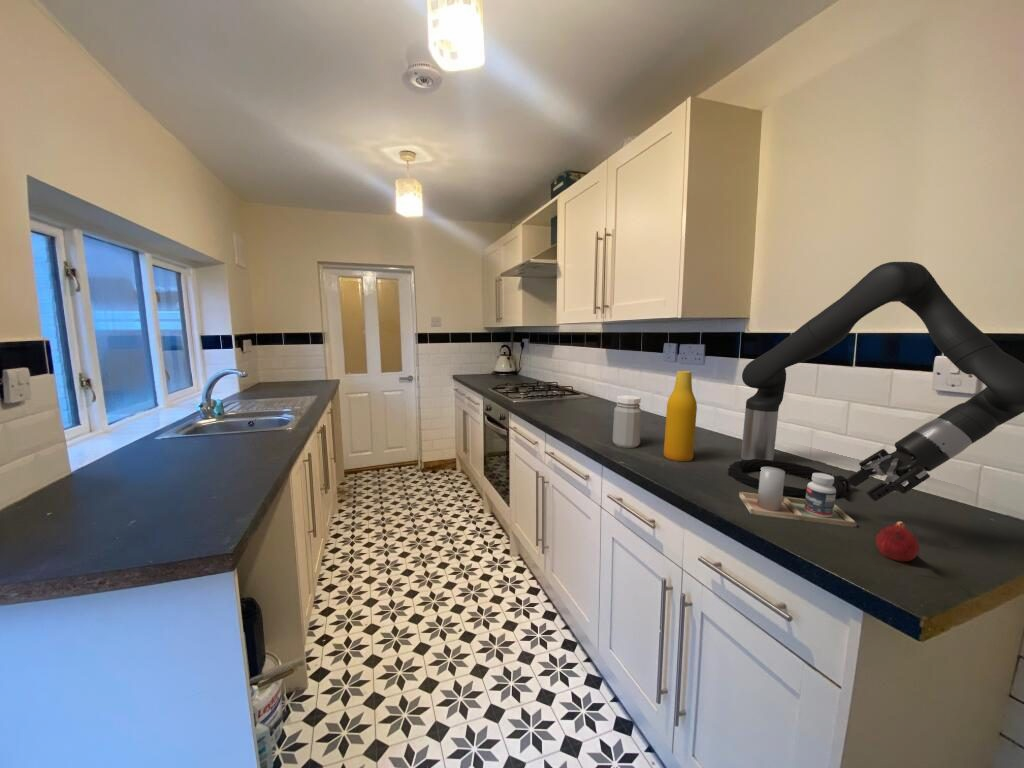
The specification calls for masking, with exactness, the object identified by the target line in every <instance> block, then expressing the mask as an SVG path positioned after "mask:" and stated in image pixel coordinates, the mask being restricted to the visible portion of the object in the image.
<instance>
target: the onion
mask: <svg viewBox="0 0 1024 768" xmlns="http://www.w3.org/2000/svg"><path fill="white" fill-rule="evenodd" d="M906 525H907V524H905V522H904V521H897V522H895V524H893V525H888V526H885V527H883V528H882V529H881V530H879V531H878V533H877V534H876V537H875V545H876V546H877V548H878V551H879V552H880V553H881V555H883V556H884V557H886V558H888V559H891V560H893V561H897V562H900V563H902V562H903V563H905V562H910V561H912V560H914V559H915V558H916V557H917V556H918V554H919V553H920V544H919V541H918V539H917V538H916V537H915V535H914V534H913V533H912V531H910V530H909V529H907V528H906Z"/></svg>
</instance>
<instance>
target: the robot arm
mask: <svg viewBox="0 0 1024 768" xmlns="http://www.w3.org/2000/svg"><path fill="white" fill-rule="evenodd" d="M891 302H892V303H897V302H898V303H901V304H903V305H904V306H906V307H907V308H909V309H910V310H912V312H913V313H915V314H916V316H918V317H919V318H920V320H921V321H922V322H923V324H924V325H925V328H926V329H927V331H928V333H929V336H930V338H931V340H932V342H933V344H934V345H935V346H936V348H938V350H940V353H942V354H943V355H944V356H945V357H946V358H947V359H948V360H949V361H950V362H951V363H952V364H953V365H954V366H955V367H956V368H957V369H958V370H959V371H960V372H962V373H963V374H966V375H973V376H974V377H976V379H977V380H978V381H980V382H981V383H982V384H983V385H985V386H986V387H985V388H983V389H982V390H981V391H979V392H978V393H976V394H975V395H973V396H972V397H971V398H968V399H967V400H966V401H965V402H962V403H959V404H957V405H955V406H953V407H950V409H948V410H947V411H945V412H944V413H942V414H940V415H939V416H937V417H935V418H934V419H932V420H930V421H927V422H926V423H924V424H922V425H921V426H919V427H917V428H916V429H915V430H913V431H911V432H910V433H908V434H907V435H905V436H904V437H902V438H900V439H899V440H898V441H896V442H895V443H894V448H896V450H894V451H893V452H891V453H889V452H888V451H887V450H886V449H884V448H882V449H880V450H878V451H877V452H875V453H873V454H871V455H870V456H868V457H867V458H865V459H864V460H862V461H860V462H858V466H860V468H859V470H857V471H856V472H855V473H853V474H852V475H850V476H847V477H848V478H847V481H848V482H849V483H850V484H851V485H852V487H854V488H855V487H857V486H859V485H862V483H864V482H866V481H867V480H869V479H870V477H871V478H872V477H875V476H886V478H885V480H884V481H883V482H880V483H879V484H877V485H874V486H873V487H872V488H871V489H868V491H866V495H867V496H868V497H869V498H870V500H872V501H873V502H877V501H879V500H880V499H882V498H884V497H885V496H888V494H890V493H892V492H893V493H897V492H899V493H901V494H906V493H908V492H910V491H911V490H913V489H914V488H915V487H917V486H918V485H920V484H921V483H923V482H925V481H927V480H928V479H929V478H930V477H931V474H929V473H928V472H932V471H933V470H935V469H936V468H938V467H940V466H941V465H943V464H945V463H946V462H948V461H949V460H951V459H953V458H954V457H956V456H958V455H959V454H961V453H962V452H963V451H965V450H966V449H967V448H969V446H971V445H973V444H974V443H976V442H978V441H980V439H982V438H984V437H986V436H987V435H989V434H990V433H992V432H993V431H994V430H995V429H996V428H997V427H999V426H1001V425H1003V424H1005V423H1006V422H1009V421H1010V420H1012V419H1014V418H1017V417H1018V416H1020V415H1021V414H1023V413H1024V363H1023V362H1022V361H1020V360H1019V359H1017V358H1015V357H1013V356H1012V355H1010V354H1008V353H1006V352H1004V351H1003V349H1002V348H1000V347H999V346H998V345H997V344H996V343H995V342H994V340H992V339H990V337H988V335H986V334H985V333H984V332H983V331H982V330H980V329H979V328H978V326H976V325H975V324H974V323H973V322H972V321H971V320H970V319H969V318H968V317H967V316H966V315H965V314H964V313H962V311H961V310H960V309H959V308H958V307H957V306H956V305H955V303H954V302H953V301H952V300H951V299H950V298H949V297H948V295H947V294H946V292H945V291H944V290H943V289H942V288H941V286H940V285H939V284H938V282H937V281H936V279H935V277H934V276H933V275H932V273H930V271H929V270H928V269H927V267H925V266H924V265H923V264H921V263H918V262H913V261H890V262H886V263H882V264H880V265H878V266H876V267H875V268H873V269H872V270H871V271H869V272H868V273H867V274H866V275H864V277H862V278H861V279H860V280H859V281H858V282H857V283H855V285H853V286H852V287H851V288H850V289H849V290H848V291H847V292H846V293H845V294H843V295H842V296H841V297H840V298H838V300H835V302H833V303H831V304H830V305H828V307H826V308H825V309H823V310H822V311H820V312H819V313H817V315H815V316H814V317H812V318H811V319H810V320H808V321H807V322H805V323H804V324H803V325H802V326H800V327H799V328H798V329H796V330H795V331H793V333H791V334H790V335H788V336H787V337H786V338H784V339H783V340H782V341H780V342H779V343H778V344H776V345H775V346H774V347H772V348H771V349H769V350H768V351H766V352H765V353H762V354H761V355H760V356H758V357H756V358H753V360H751V361H749V362H748V363H747V364H746V365H745V367H744V368H743V371H742V374H741V380H742V381H743V383H744V385H745V386H747V387H749V388H751V389H757V391H756V392H755V394H754V395H752V396H751V397H749V398H747V399H746V401H745V410H744V423H743V432H742V442H741V443H742V444H741V453H740V458H741V460H751V459H759V460H774V458H775V456H774V455H775V449H776V448H775V447H776V438H777V428H778V418H779V411H780V406H781V404H782V402H783V399H784V396H785V395H784V394H785V388H786V382H787V371H786V368H789V367H791V366H794V365H797V364H800V363H802V362H806V361H808V360H811V359H813V358H815V357H817V356H820V355H822V354H824V353H826V352H827V351H829V350H831V349H832V348H833V347H835V346H836V345H838V344H839V343H841V342H842V341H843V340H844V339H845V338H846V337H847V336H848V335H849V334H850V332H851V331H852V329H853V328H854V327H855V325H856V324H857V323H858V322H859V321H860V320H861V319H862V318H864V317H866V316H867V315H869V314H870V313H872V312H873V311H876V310H877V309H878V308H880V307H883V306H885V305H888V304H889V303H891Z"/></svg>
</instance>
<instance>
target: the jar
mask: <svg viewBox="0 0 1024 768" xmlns="http://www.w3.org/2000/svg"><path fill="white" fill-rule="evenodd" d="M616 402H617V403H616V406H615V407H614V408H613V409H614V410H613V427H612V442H613V443H614V445H615V446H616V447H619V448H623V449H624V448H625V449H634V448H637V447H638V446H639V445H640V444H641V433H642V418H643V417H642V416H643V410H642V409H641V408H640V407H641V405H640V403H641V397H640V396H638V395H637V396H636V395H631V394H630V395H628V394H627V395H626V394H623V395H617V396H616Z"/></svg>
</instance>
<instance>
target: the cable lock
mask: <svg viewBox="0 0 1024 768" xmlns="http://www.w3.org/2000/svg"><path fill="white" fill-rule="evenodd" d="M761 467H774V468H778V469H781V470H784V471H785V474H787V473H789V474H788V475H791V474H793V475H792V476H794V475H796V476H795V477H799V476H800V478H803V477H805V478H804V479H806V478H808V479H807V480H809V479H810V480H809V481H812V474H813V473H823V474H828V475H831V476H833V477H834V483H833V485H832V486H833V487H835V489H836V497H835V499H840V498H845V496H846V494H847V492H850V491H851V490H852V489H853V485H851V484H850V483H849V482H848V481H847V478H848V477H849V476H846V477H844V476H843V475H835V474H833V473H828V472H825V471H822V470H819V469H816V468H813V467H810V466H807V465H802V464H797V463H793V462H786V461H781V460H774V459H773V460H759V459H751V460H743V459H741V460H739V461H734V462H733V463H732V464H729V467H728V469H727V471H728V472H727V475H728V476H729V477H732V478H733V479H734V480H735V481H737V482H739V483H740V484H744V485H746V486H748V487H750V488H753V489H755V490H759V481H760V478H757V477H753V476H750V475H747V474H746V472H752V471H753V472H754V471H757V470H761ZM848 490H849V491H848ZM806 491H807V488H800V487H795V486H794V487H793V486H787V485H784V487H783V496H782V497H790V498H799V499H806ZM846 491H847V492H846Z"/></svg>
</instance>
